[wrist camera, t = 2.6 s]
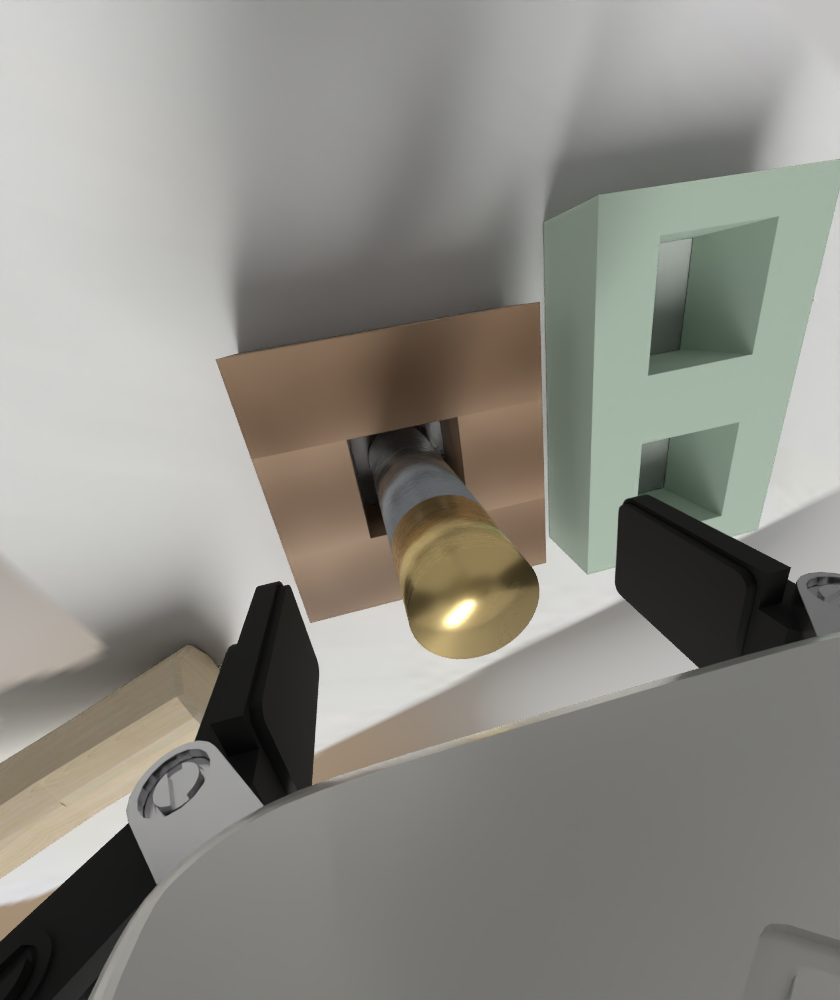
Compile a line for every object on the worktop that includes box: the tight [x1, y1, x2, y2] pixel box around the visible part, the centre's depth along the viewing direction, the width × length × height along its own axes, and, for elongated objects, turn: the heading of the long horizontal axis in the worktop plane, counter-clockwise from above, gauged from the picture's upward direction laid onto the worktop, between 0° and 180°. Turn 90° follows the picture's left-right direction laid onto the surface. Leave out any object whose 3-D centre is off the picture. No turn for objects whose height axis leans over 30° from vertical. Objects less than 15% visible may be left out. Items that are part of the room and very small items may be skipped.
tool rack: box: [543, 159, 840, 575], centre depth 19 cm, size 16×10×4 cm, turn 9°
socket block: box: [216, 302, 546, 623], centre depth 18 cm, size 12×12×4 cm
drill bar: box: [368, 427, 539, 659], centre depth 15 cm, size 3×3×12 cm
